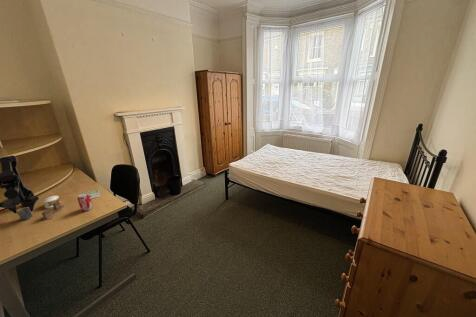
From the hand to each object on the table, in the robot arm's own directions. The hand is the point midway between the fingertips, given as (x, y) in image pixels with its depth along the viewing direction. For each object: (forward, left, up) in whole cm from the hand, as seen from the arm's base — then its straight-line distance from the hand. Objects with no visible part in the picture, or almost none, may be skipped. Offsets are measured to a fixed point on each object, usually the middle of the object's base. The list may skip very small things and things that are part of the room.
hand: (24, 212), depth 131 cm
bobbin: (+7, +15, -5) cm, 17 cm away
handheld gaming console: (+30, +24, -6) cm, 39 cm away
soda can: (+36, +2, -5) cm, 37 cm away
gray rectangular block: (0, 0, -5) cm, 5 cm away
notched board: (+14, +3, -5) cm, 15 cm away
